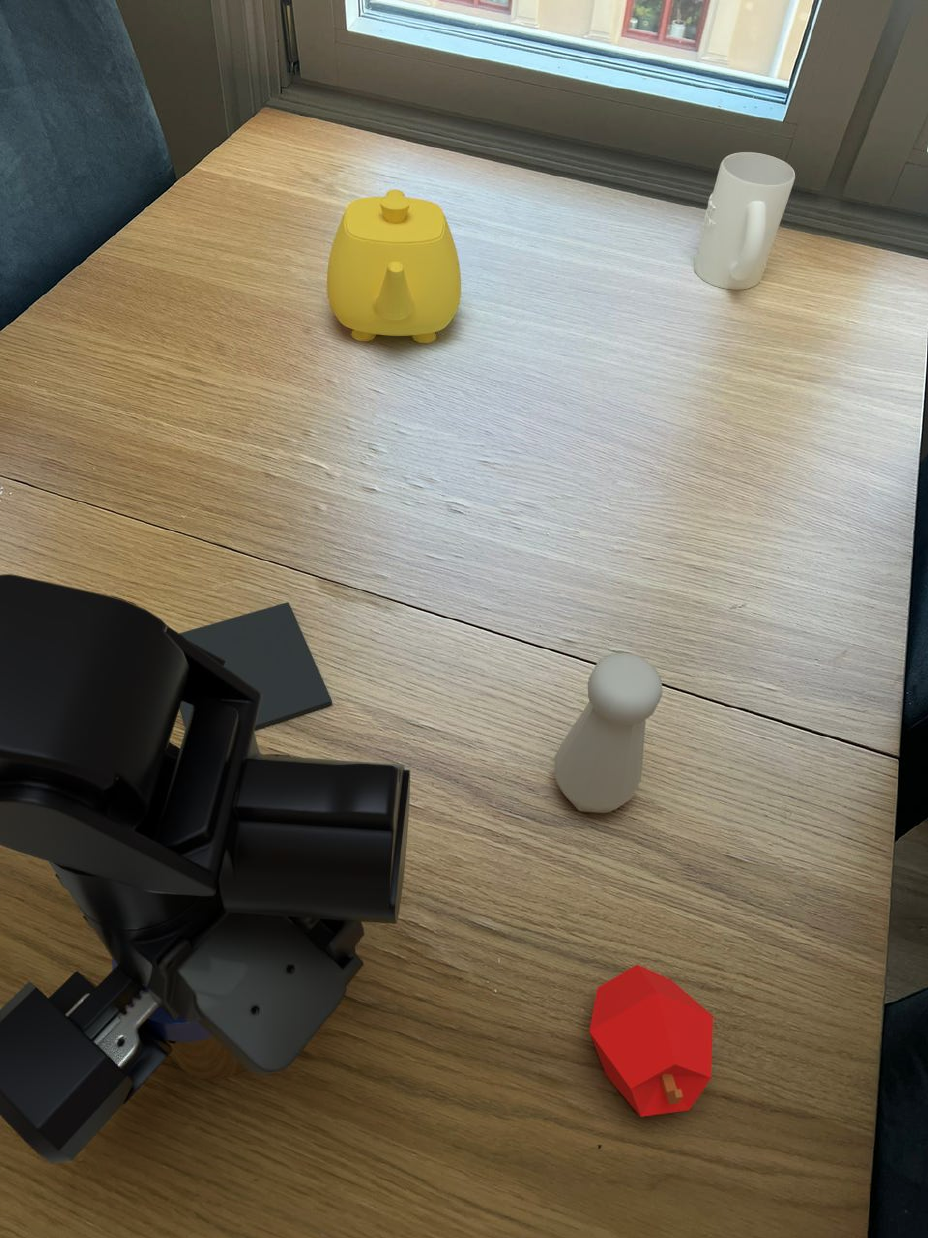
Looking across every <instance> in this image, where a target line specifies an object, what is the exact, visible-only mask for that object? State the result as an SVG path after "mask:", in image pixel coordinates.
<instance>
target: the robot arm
mask: <svg viewBox="0 0 928 1238" xmlns="http://www.w3.org/2000/svg"><path fill="white" fill-rule="evenodd" d="M225 662H226V661H224V660H223V659H221V658H219V657H217V656H215V655H213V654H212V653H210V652H208V651H206V650H204V649H202V648H201V647H199V646H197V645H195V644H193V643H191V642H190V641H188V640H187V639H185V638H184V637H183V636H182V635H180V634H179V633H178V632H177V631H176V630H175V629H173V628H172V627H170V626H169V625H168V624H166V623H165V621H164V620H163V619H162V618H161V617H159V616H157V615H155V614H154V613H152V612H151V611H149V610H148V609H146V608H145V607H141V606H139V605H138V604H136V603H134V602H132V601H129V600H126V599H124V598H120V597H117V596H114V595H108V594H104V593H100V592H95V591H90V590H86V589H82V588H77V587H72V586H68V585H63V584H59V583H53V582H49V581H45V580H42V579H41V580H40V579H36V578H31V577H26V576H22V575H18V574H12V573H5V574H3V573H2V574H0V846H2V847H3V848H7V849H9V850H13V851H14V852H18V853H21V854H23V855H27V856H31V857H34V858H37V859H41V860H43V861H47V862H48V863H49V865H50V866H51V868H52V869H53V870H54V872H55V874H54V876H55V877H56V879H57V880H58V882H59V883H60V885H61V887H63V888H64V889H65V890H66V891H67V893H69V895H70V896H71V897H72V899H73V901H74V902H75V904H76V905H77V906H78V908H79V909H80V911H81V913H82V914H83V916H82V918H83V919H84V921H85V922H86V924H87V925H88V927H90V928H91V929H92V930H93V931H94V932H95V934H96V935H97V937H98V938H99V940H100V942H101V943H102V944H103V946H104V947H105V949H106V950H107V952H108V953H109V956H111V958H113V959H114V961H115V962H116V964H117V965H118V966H117V967H116V968H115V969H114V970H113V971H111V972H110V973H109V974H107V976H105V978H104V979H103V980H102V981H101V982H100V983H99V984H98V985H97V984H96V983H94V982H93V981H91V980H90V979H89V978H87V977H86V976H85V975H84V974H82V973H81V972H79V971H78V970H76V971H74V972H73V973H72V975H70V977H68V978H67V979H66V981H64V982H63V983H62V984H61V986H59V987H58V988H57V989H56V990H55V991H54V992H53V993H52V994H51V995H50V996H49V997H47V995H45V994H44V993H43V992H42V990H40V989H39V988H38V986H36V985H35V984H34V983H33V982H31V981H28V982H27V983H26V984H25V985H24V986H23V987H22V988H21V989H20V990H18V991H17V993H15V995H13V996H12V998H11V999H9V1001H8V1002H6V1003H5V1004H4V1005H3V1006H2V1007H1V1008H0V1117H1V1118H2V1119H3V1120H4V1121H5V1123H7V1124H8V1126H9V1127H10V1128H12V1130H13V1131H14V1132H15V1133H16V1134H17V1135H18V1136H19V1137H20V1138H21V1139H22V1140H23V1142H25V1143H26V1144H27V1145H28V1146H29V1147H30V1148H31V1149H32V1150H33V1151H34V1152H36V1154H38V1155H39V1156H40V1157H42V1159H44V1160H46V1161H48V1162H49V1163H50V1164H56V1163H57V1164H59V1163H64V1162H71V1161H73V1160H74V1159H75V1158H76V1157H78V1155H79V1154H80V1153H81V1152H82V1151H83V1150H84V1148H85V1147H87V1145H88V1144H89V1143H90V1142H91V1140H92V1139H93V1138H94V1137H95V1136H96V1135H97V1134H98V1132H99V1131H100V1130H101V1129H102V1128H103V1127H104V1126H105V1125H106V1124H107V1123H108V1121H110V1119H111V1118H112V1117H113V1116H114V1115H115V1113H117V1111H118V1110H119V1109H120V1108H121V1107H122V1106H124V1105H125V1104H126V1103H128V1102H129V1101H130V1100H131V1099H132V1097H133V1096H134V1095H135V1094H136V1093H137V1091H138V1090H140V1088H141V1087H142V1086H143V1085H144V1083H146V1082H147V1081H148V1079H149V1078H150V1077H151V1076H152V1075H153V1074H154V1073H155V1072H156V1070H157V1069H159V1067H160V1066H161V1065H162V1064H163V1063H164V1061H166V1059H167V1058H168V1057H169V1056H171V1055H170V1054H171V1052H172V1051H173V1050H172V1047H171V1045H170V1044H169V1043H168V1042H166V1041H165V1040H164V1039H163V1038H160V1037H158V1036H156V1035H155V1034H154V1033H152V1032H151V1031H150V1030H149V1029H147V1028H146V1027H145V1026H144V1025H143V1022H144V1021H145V1020H146V1019H147V1018H148V1017H149V1016H150V1015H151V1014H152V1013H153V1012H154V1011H155V1010H156V1009H157V1007H158V1006H160V1007H161V1008H162V1009H163V1010H164V1011H165V1012H166V1013H168V1014H169V1015H170V1016H171V1017H172V1018H173V1019H174V1020H176V1019H177V1018H178V1017H179V1016H181V1017H182V1018H183V1019H184V1020H185V1021H186V1022H188V1023H192V1022H197V1021H198V1022H199V1023H200V1024H201V1025H202V1026H203V1027H204V1028H205V1029H206V1030H207V1031H208V1032H209V1033H210V1034H211V1035H212V1036H213V1037H214V1038H215V1039H216V1040H218V1041H219V1042H220V1043H221V1044H222V1045H223V1046H224V1047H225V1048H226V1049H227V1050H228V1051H229V1052H230V1053H231V1054H232V1055H233V1056H234V1057H235V1058H236V1059H237V1060H238V1061H239V1062H240V1063H241V1064H242V1065H243V1066H244V1067H245V1068H246V1069H245V1070H247V1071H248V1072H250V1073H251V1074H254V1075H257V1076H267V1075H271V1074H274V1073H278V1072H281V1071H283V1070H285V1069H287V1068H288V1067H289V1066H290V1065H291V1064H292V1063H293V1062H294V1061H296V1059H297V1057H298V1056H299V1055H300V1054H301V1053H302V1051H303V1050H304V1049H305V1048H306V1046H307V1045H308V1044H310V1043H309V1042H310V1041H311V1040H312V1039H313V1038H314V1037H315V1035H316V1034H317V1033H318V1031H319V1030H320V1029H321V1028H322V1027H323V1025H324V1024H325V1023H326V1021H328V1019H329V1018H330V1017H331V1015H332V1014H333V1013H334V1012H335V1010H336V1009H337V1008H338V1007H339V1005H340V1004H341V1003H342V1001H343V1000H344V999H345V996H346V993H347V989H348V988H347V987H348V985H349V984H350V983H351V982H352V980H353V979H354V978H355V977H356V975H357V974H358V973H359V972H360V970H361V969H362V968H363V967H364V966H365V963H364V961H363V960H362V959H361V957H360V956H359V955H358V954H357V952H356V947H357V945H358V944H359V942H360V941H361V940H362V939H363V937H364V936H365V929H364V926H363V925H364V924H363V923H379V924H390V925H391V924H392V925H397V924H398V921H399V916H400V910H401V903H402V897H403V896H402V895H403V888H404V887H403V886H404V878H405V868H406V857H407V844H408V834H409V833H408V832H409V818H410V817H409V816H410V798H411V797H410V795H411V769H406V768H405V764H397V763H385V762H384V763H383V762H371V761H370V762H369V761H354V760H341V759H327V758H315V757H314V758H313V757H299V756H292V755H290V754H279V753H267V754H263V753H262V752H260V748H259V746H258V741H257V737H256V733H255V732H256V731H255V730H254V729H255V725H256V721H257V717H258V713H259V708H260V704H261V700H262V694H261V693H260V692H259V691H257V690H256V689H255V688H253V687H252V686H250V685H249V684H248V683H246V682H245V681H243V680H242V679H241V678H239V677H238V676H237V675H235V674H234V673H232V672H231V671H230V670H228V669H227V668H225V667H224V666H225ZM182 701H184V702H186V703H189V704H191V705H193V706H192V709H191V713H190V716H189V720H188V723H187V726H186V727H185V730H184V733H183V737H182V740H181V742H180V743H181V744H180V747H179V746H177V745H175V744H174V743H173V742H171V737H172V735H173V732H174V727H175V725H176V722H177V719H178V714H179V712H180V705H181V702H182ZM146 988H147V989H148V991H147V992H146V991H144V990H145V989H146ZM139 995H140V996H141V999H137V997H138V996H139ZM132 1003H133V1004H134V1006H133V1007H131V1006H130V1005H131V1004H132Z"/></svg>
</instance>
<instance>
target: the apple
mask: <svg viewBox="0 0 928 1238" xmlns="http://www.w3.org/2000/svg"><path fill="white" fill-rule="evenodd" d="M713 1028H714V1015H713V1014H712V1013H710V1011H708V1010H707V1009H706V1008H705V1007H704V1006H703V1005H701V1004H700V1003H699V1002H698V1001H697V1000H695V999H694V998H693V997H692V996H690V995H689V994H688V993H687V992H686V991H685V990H684V989H682V988H681V987H680V986H679V985H678V984H677V983H675V982H674V981H673V980H672V978H670V977H666V976H664V975H662V974H660V973H658V972H656V971H653V970H651V969H648V968H646V967H643V966H641V965H639V964H635V965H633V966H632V967H630V968H629V969H627V970H625V971H624V972H622V973H620V974H618V975H617V976H614V977H613V978H612V979H610V980H608V981H606V982H605V983H602V984H601V985H600V986H598V987H597V988H596V994H595V1000H594V1004H593V1010H592V1015H591V1021H590V1026H589V1031H588V1032H589V1034H590V1037H591V1039H592V1042H593V1045H594V1047H595V1050H596V1052H597V1056H598V1058H599V1060H600V1064H601V1065H602V1068H603V1071H604V1073H605V1076H606V1077H607V1079H608V1080H609V1081H610V1082H611V1083H612V1084H613V1086H614V1087H615V1088H616V1089H617V1091H618V1092H619V1093H620V1095H622V1096H623V1098H624V1099H626V1101H627V1102H628V1104H629V1105H630V1106H631V1107H632V1108H633V1109H634V1110H635V1112H636V1113H637V1114H638V1115H639V1116H640V1117H641V1118H643V1117H649V1116H650V1117H651V1116H657V1115H663V1114H671V1113H678V1112H684V1111H685V1112H686V1111H690V1110H691V1108H692V1107H693V1105H694V1104H695V1103H696V1101H697V1100H698V1099H699V1097H700V1095H701V1094H702V1092H703V1091H704V1089H705V1088H706V1087H707V1085H708V1084H709V1082H710V1081H711V1079H712V1068H713V1067H712V1065H713V1064H712V1061H713V1034H714V1029H713Z"/></svg>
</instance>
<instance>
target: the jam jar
mask: <svg viewBox="0 0 928 1238" xmlns="http://www.w3.org/2000/svg"><path fill="white" fill-rule="evenodd" d="M163 1039H164V1038H163ZM164 1040H165V1041H166V1042H168V1043H169V1044H170V1045H171V1047H172V1050H173V1051H172V1052H171V1054H170V1055H169V1056H170V1057H171V1058H172V1060H173V1061H174V1063H175V1064H176V1065H177V1066H178V1067H179V1069H181V1070H182V1071H184V1072H185V1073H186V1074H188V1075H190V1076H192V1077H195V1078H198V1079H202V1080H221V1079H227V1078H229V1077H232V1076H235V1075H237V1074H239V1073H241V1072H242V1071H244V1070H247V1069H246V1068H245V1067H244V1066H243V1065H242V1064H241V1063H240V1062H239V1061H238V1060H237V1059H236V1058H235V1057H234V1056H233V1055H232V1054H231V1053H230V1052H229V1051H228V1050H227V1049H226V1048H225V1047H224V1046H223V1045H222V1044H221V1043H220V1042H219V1041H218V1040H216V1039H215V1038H214V1037H210V1038H208V1039H204V1040H199V1041H193V1042H177V1041H171V1040H167V1039H164Z"/></svg>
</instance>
